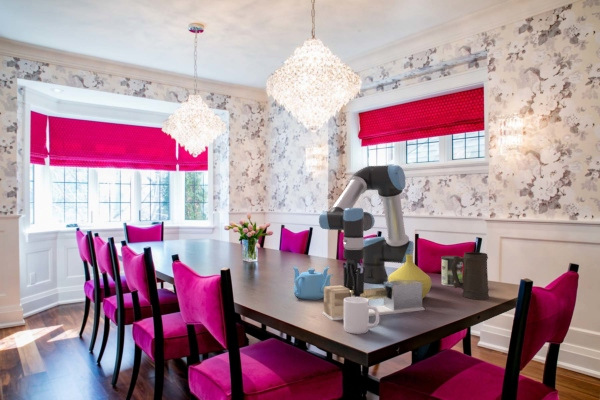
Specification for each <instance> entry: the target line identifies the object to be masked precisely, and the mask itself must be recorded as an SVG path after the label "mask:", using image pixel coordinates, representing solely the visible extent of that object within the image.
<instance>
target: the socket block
mask: <svg viewBox="0 0 600 400" xmlns="http://www.w3.org/2000/svg"><path fill="white" fill-rule="evenodd" d="M347 297H349V289H348V288H346V287H344V285H341V284H339V285H330V286H326V287H324V298H323V311H324V313H326V314H327V315H329V316H330V317H340V316H344V298H347Z"/></svg>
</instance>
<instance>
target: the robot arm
mask: <svg viewBox="0 0 600 400" xmlns="http://www.w3.org/2000/svg"><path fill="white" fill-rule="evenodd" d="M403 169H404V168H402V167H401V165H394V164H389V165H388V164H387V165H369V166H365V167H363V168H360V169H359V170H357V171H356V172H355V173H353V174H352V176H350V177H349V179H348V181H347V186H346V187H345V189H344V190H343V192H342V193H341V194H340V196H339V197H338V199H337V200H336V201H335V203H334V204H333V206H332V207H331V209H329V211H327V210H326V211H322V212H320V214H319V216H318V223H319V224H318V225H319V227H320V228H321V229H322V230H329V231H330V230H331V231H333V230H335V231H343V240H342V242H343V248H344V249H343V259H345V260H346V262H342V268H343V286H344V287H346V288H348V289H349V291H351V290H354V293H352V295H353V297H360V294H363V293H364V289H365V283H369V284H384V282H388V278H389V275H388V273H387V270H386V267H385V263H395V264H402V265H403V264H404V263H405V262H406V255H413V254H414V249H415V248H414V247H415V246H414V244H415V243H414V241H412V240H410V238H409V236H408V235H407V233H406V229H405V222H404V216H403V208H402V201H401V199H402V198H401V194H402V193H403V190H404V189H405V188H406V175H405V172H404V170H403ZM366 191H377V194H378V196H380V197H381V198H382V205H383V211H384V217H385V225H386V230H387V231H386V232H387V236H386V238H385V237H384V236H375V237H368V238H364V232H367V231H369V230H371V229H372V228H373V227H374V226H375V217H374V216H373V214H372V213H370V212H368V211H364V209H363V208H362V207H354V206H355V205H356V203H357V202H358V200H359V198H360V197H361V196H362V195H363V194H365V192H366ZM413 256H414V255H413ZM361 260H362V263H361Z"/></svg>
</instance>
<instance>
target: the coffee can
mask: <svg viewBox="0 0 600 400" xmlns="http://www.w3.org/2000/svg"><path fill="white" fill-rule="evenodd" d="M454 256H455V255H443V256H441V285H442V286H447V287H454V284H455V279H454V277H453V274H452V263H453V261H454ZM460 257H461V256H460ZM461 258H463V257H461ZM456 270H457V275H458V278H459V281H460V283H463V263H462V262H458V263H457V267H456Z"/></svg>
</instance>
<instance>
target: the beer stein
mask: <svg viewBox="0 0 600 400" xmlns="http://www.w3.org/2000/svg"><path fill="white" fill-rule="evenodd" d="M453 256H454V261H453V263H452V274H453V277H454V279H455V284H454V286H453V287H454V289H457V288H460V289H462V290H463V291H462V296H463V297H464V298H466V299H471V300H484V301H485V300H487V299H489V298H490V296H489V282H488V281H489V280H488V279H489V277H488V275H489V274H488V259H489V257H488V253H485V252H478V251H467V252H464V254H463V257H462V258H461V256H458V255H453ZM458 262H462V265H463V269H462V283H460V281H459V278H458V275H457V270H456V267H457V263H458Z"/></svg>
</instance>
